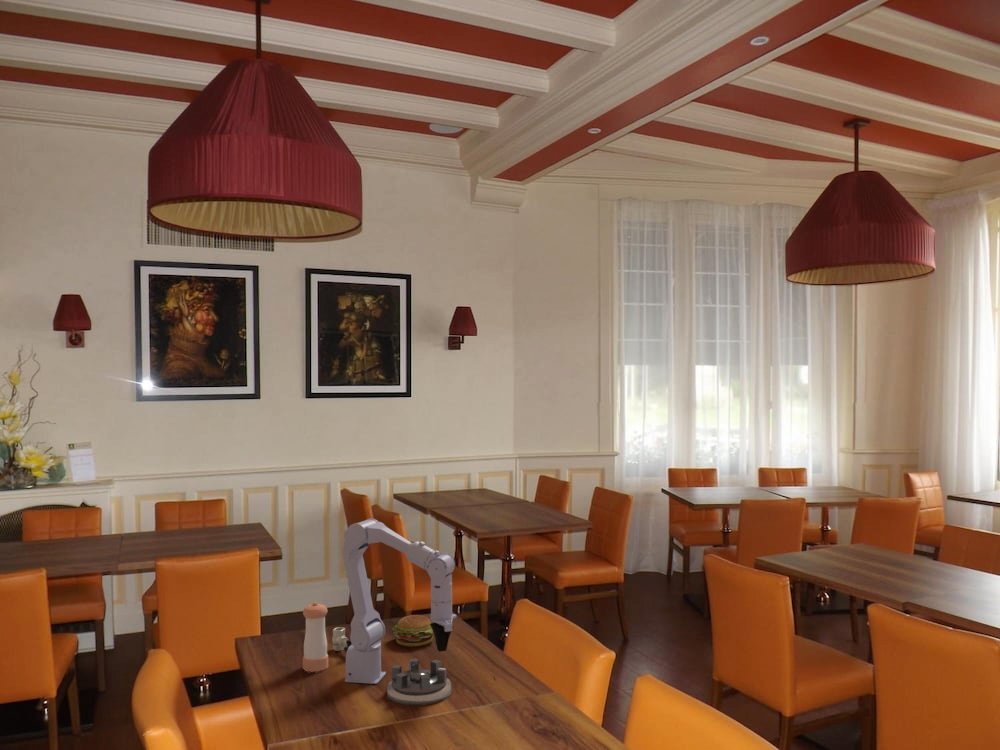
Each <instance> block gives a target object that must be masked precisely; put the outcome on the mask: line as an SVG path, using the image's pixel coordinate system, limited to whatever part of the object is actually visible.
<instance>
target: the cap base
mask: <svg viewBox="0 0 1000 750" xmlns="http://www.w3.org/2000/svg"><path fill="white" fill-rule="evenodd" d="M386 688H387V689H386V690H387V691H386V692H387V694H386V696H387V698H388V699H389V700H390V701H391V702H393V703H396V704H398V705H403V706H412V707H413V706H414V707H415V706H429V705H433V704H436V703H440V702H442V701H444V700H447V698H448V697H450V695H451V693H452V681H451V680H450V679H449V678H448V677H447V683H446V686H445V687H444V688H442V689H441V690H439V691H436V692H433V693H429V694H422V695H410V694H404V693H400V692H397V691H396V690H394V689H393V688H392V680H390V681H389V682H388V684H387V687H386Z"/></svg>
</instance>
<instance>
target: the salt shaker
mask: <svg viewBox="0 0 1000 750" xmlns="http://www.w3.org/2000/svg"><path fill="white" fill-rule="evenodd" d="M302 614H303V617H304V618H305V633H304V634H305V636H304V642H303V656H302V670H303V669H304V670H305V671H311V672H313V671H320V670H324V669H326V668H327V669H328V668H329V654H328V640H327V639H328V638H327V635H326V616H327V614H328V608H327V606H326V605H324V604H322V603H318V602H317V601H313V602H312V604H311V603H310V604H309V605H306V606H305V607H304V609H303V611H302ZM327 669H326V670H327ZM305 671H304V672H305ZM324 671H325V670H324Z"/></svg>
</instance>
